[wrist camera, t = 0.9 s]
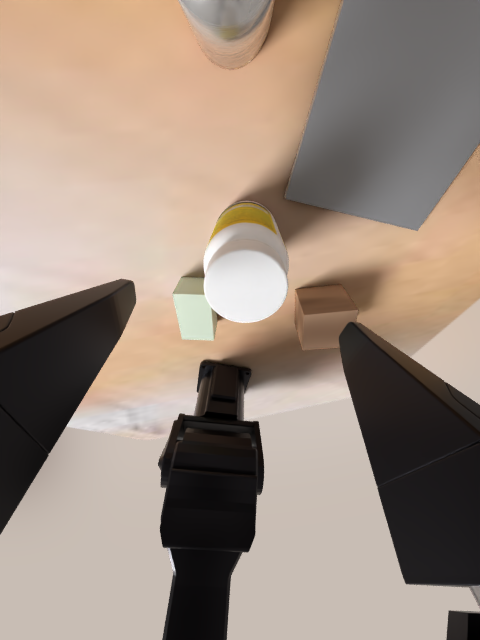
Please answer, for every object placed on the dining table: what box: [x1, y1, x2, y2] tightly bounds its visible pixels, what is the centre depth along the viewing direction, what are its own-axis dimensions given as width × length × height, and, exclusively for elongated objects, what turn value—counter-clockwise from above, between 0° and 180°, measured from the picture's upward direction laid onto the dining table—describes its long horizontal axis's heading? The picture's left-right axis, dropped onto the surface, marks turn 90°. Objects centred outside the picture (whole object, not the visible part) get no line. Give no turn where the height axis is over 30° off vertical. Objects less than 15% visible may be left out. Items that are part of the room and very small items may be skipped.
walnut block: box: [295, 284, 359, 350], centre depth 19 cm, size 4×4×4 cm
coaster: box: [284, 0, 480, 231], centre depth 12 cm, size 10×10×1 cm
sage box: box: [173, 277, 217, 340], centre depth 19 cm, size 5×3×3 cm, turn 179°
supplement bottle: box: [204, 201, 289, 323], centre depth 13 cm, size 5×5×8 cm
